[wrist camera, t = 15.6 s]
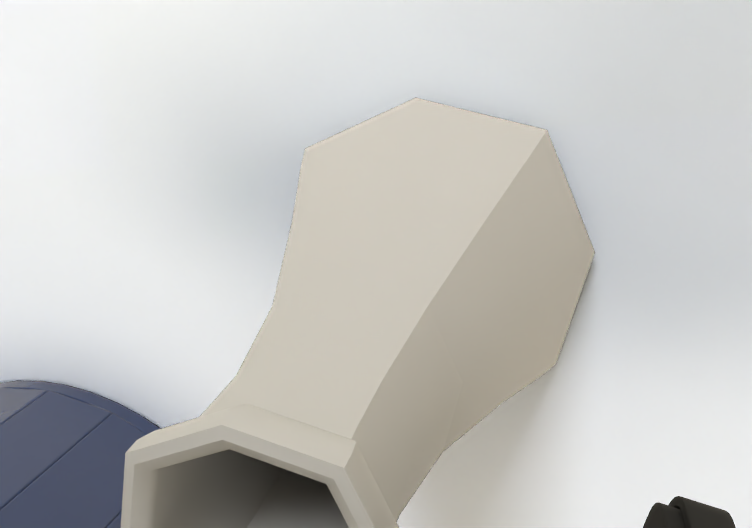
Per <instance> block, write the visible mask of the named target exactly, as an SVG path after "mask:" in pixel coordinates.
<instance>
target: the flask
mask: <svg viewBox="0 0 752 528" xmlns="http://www.w3.org/2000/svg"><path fill="white" fill-rule="evenodd" d="M594 254H595V251H594V249H593V246H592V244H591V241H590V239H589V236H588V233H587V231H586V228H585V226H584V223H583V221H582V218H581V215H580V213H579V210H578V208H577V205H576V203H575V200H574V197H573V195H572V192H571V190H570V187H569V185H568V182H567V179H566V177H565V174H564V172H563V169H562V167H561V164H560V161H559V159H558V156H557V154H556V151H555V149H554V146H553V144H552V141H551V138H550V136H549V133H548V131H547V130H545V129H541V128H537V127H533V126H529V125H525V124H521V123H517V122H513V121H509V120H505V119H500V118H496V117H492V116H488V115H484V114H480V113H476V112H472V111H468V110H464V109H460V108H456V107H452V106H448V105H444V104H439V103H435V102H431V101H427V100H423V99H419V98H414V99H412V100H410V101H407V102H405V103H403V104H401V105H399V106H397V107H394V108H392V109H390V110H388V111H386V112H383V113H381V114H379V115H377V116H375V117H373V118H370V119H368V120H366V121H364V122H362V123H359V124H357V125H355V126H353V127H351V128H349V129H346V130H344V131H342V132H340V133H338V134H335V135H333V136H331V137H329V138H327V139H325V140H322V141H320V142H318V143H316V144H314V145H312V146H309V147H307V148H305V151H304V155H303V160H302V164H301V169H300V175H299V181H298V187H297V194H296V200H295V206H294V212H293V218H292V224H291V228H290V232H289V237H288V241H287V245H286V249H285V254H284V258H283V262H282V267H281V271H280V275H279V279H278V284H277V288H276V292H275V296H274V301H273V305H272V308H271V310H270V311H269V313H268V315H267V317H266V319H265V321H264V323H263V325H262V327H261V329H260V331H259V333H258V335H257V336H256V338H255V340H254V342H253V344H252V346H251V348H250V350H249V352H248V354H247V356H246V358H245V359H244V361H243V363H242V365H241V367H240V369H239V371H238V373H237V375H236V376H235V378H234V379H233V380H232V381H231V382H230V383H229V384H228V385H227V387H226V388H225V389H224V390H223V391H222V392H221V393H220V394H219V395H218V397H217V398H216V399H215V400H214V401H213V402H212V403H211V404H210V406H209V407H208V408H207V409H206V410H205V411H204V412H203V413H202V415H201V416H200V417H198V418H195V419H191V420H188V421H185V422H181V423H178V424H175V425H171V426H168V427H165V428H162V429H158V430H155V431H153V432H151V433H149V434H147V435H145V436H143V437H141V438H140V439H138V440H136V442H135V443H134V444H133V445H132V446H131V447H130V448H129V449H128V451H127V452H126V453H125V467H124V483H123V498H122V514H121V528H399V527H398V525H397V520H398V518H399V515H400V514H401V512H402V511H403V509H404V508H405V506H406V505H407V503H408V502H409V501H410V499H411V498H412V496H413V495H414V493H415V492H416V490H417V489H418V487H419V486H420V484H421V483H422V482H423V480H424V479H425V477H426V476H427V474H428V473H429V471H430V470H431V468H432V467H433V465H434V464H435V463H436V461H437V460H438V458H439V457H440V455H441V454H442V452H443V451H445V450H446V449H447V448H448V447H449V446H451V445H452V444H453V443H454V442H455V441H457V440H458V439H459V438H460V437H462V436H463V435H464V434H465V433H466V432H468V431H469V430H470V429H471V428H472V427H474V426H475V425H476V424H477V423H479V422H480V421H481V420H482V419H483V418H485V417H486V416H487V415H488V414H489V413H491V412H492V411H493V410H494V409H496V408H497V407H498V406H499V405H500V404H502V403H503V402H504V401H506V400H507V399H509V398H510V397H512V396H513V395H515V394H516V393H517V392H519V391H520V390H522V389H523V388H525V387H526V386H528V385H529V384H531V383H532V382H534V381H535V380H536V379H538V378H539V377H541V376H542V375H544V374H545V373H546V372H547V371H549V370H550V369H551V368H552V367H553V366H555V365H556V363H557V360H558V357H559V354H560V352H561V349H562V346H563V343H564V340H565V337H566V334H567V332H568V329H569V326H570V323H571V320H572V317H573V314H574V312H575V309H576V306H577V303H578V300H579V297H580V294H581V291H582V289H583V286H584V283H585V280H586V277H587V274H588V271H589V269H590V266H591V263H592V260H593V257H594Z"/></svg>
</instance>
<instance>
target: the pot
mask: <svg viewBox="0 0 752 528" xmlns="http://www.w3.org/2000/svg"><path fill="white" fill-rule="evenodd" d="M158 429H161V428H159V427H158V426H156V425H155V424H153V423H152V422H150V421H149V420H147V419H146V418H144V417H143V416H141V415H139V414H137V413H135V412H133V411H132V410H130V409H128V408H126V407H124V406H122V405H121V404H119V403H117V402H114V401H112V400H109V399H107V398H104V397H102V396H100V395H97V394H95V393H92V392H89V391H86V390H82V389H79V388H75V387H72V386H68V385H63V384H57V383H51V382H44V381H11V382H4V383H0V528H121V514H122V498H123V483H124V467H125V453H126V452H127V451H128V449H129V448H130V447H131V446H132V445H133V444H134V443H135V442H136V440H138V439H140V438H141V437H143V436H145V435H147V434H149V433H151V432H153V431H155V430H158Z"/></svg>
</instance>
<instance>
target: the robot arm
mask: <svg viewBox="0 0 752 528" xmlns="http://www.w3.org/2000/svg"><path fill="white" fill-rule="evenodd" d="M643 528H735V525H734V522H733V519H732V517H731V516H730V514H729V513H728V512H727V511H725V510H722V509H719V508H715V507H712V506H709V505H706V504H703V503H699V502H696V501H693V500H690V499H686V498H683V497H680V496H677V497H674V499H673V500H672V501H671V502H670V504H669V505H665V504H661V503H655V504H654V506H653V507H652V509H651V510H650V512H649V515H648V517H647V519H646V522H645V524H644V526H643Z"/></svg>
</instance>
